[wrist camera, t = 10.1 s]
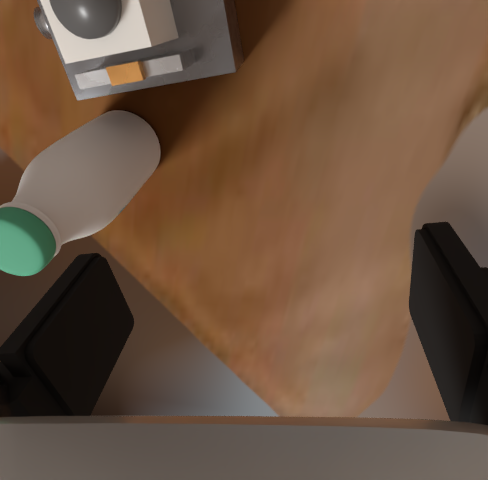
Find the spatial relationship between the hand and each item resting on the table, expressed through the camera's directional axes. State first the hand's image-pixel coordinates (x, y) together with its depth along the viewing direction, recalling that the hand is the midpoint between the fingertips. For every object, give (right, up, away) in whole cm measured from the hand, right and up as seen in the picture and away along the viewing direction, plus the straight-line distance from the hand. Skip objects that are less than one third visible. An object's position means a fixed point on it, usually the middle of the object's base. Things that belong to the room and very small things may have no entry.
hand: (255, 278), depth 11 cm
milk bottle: (-13, +12, +28) cm, 33 cm away
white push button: (-9, +19, +16) cm, 26 cm away
